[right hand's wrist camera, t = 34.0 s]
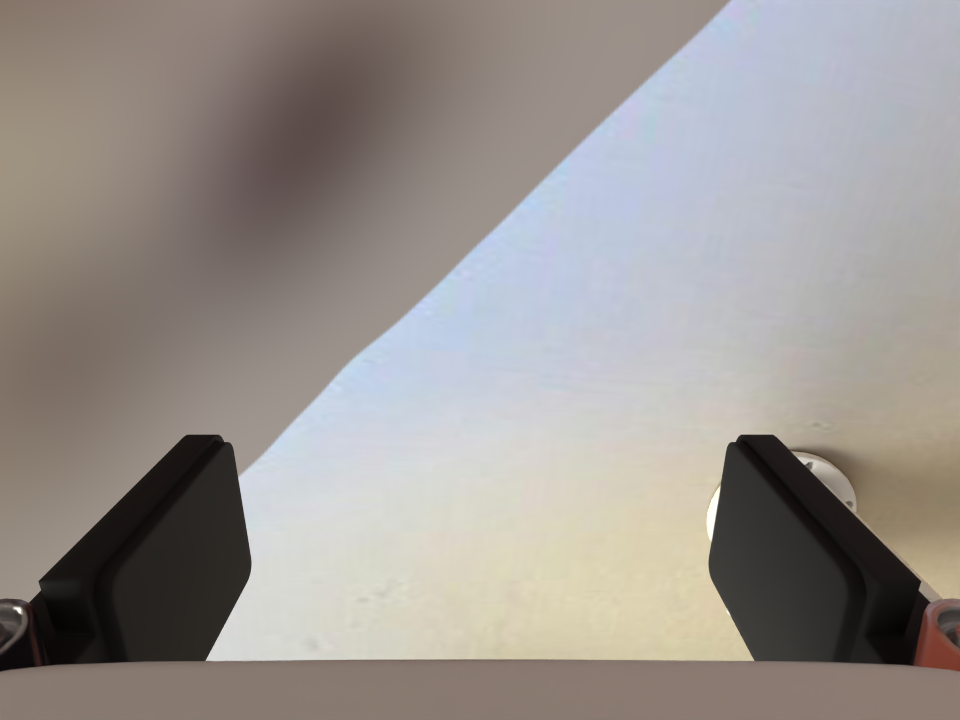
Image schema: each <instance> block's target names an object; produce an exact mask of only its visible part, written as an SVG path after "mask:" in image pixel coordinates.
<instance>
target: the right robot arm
mask: <svg viewBox="0 0 960 720" xmlns="http://www.w3.org/2000/svg"><path fill="white" fill-rule="evenodd" d="M856 511H857V509H856V497H855V493H854V490H853V487H852V486H851V484H850V482H849V480H848V479H847V478H846V477H845V476H844V474H843V473H842V472H841V471H840V470H839V469H837V468H836V467H835V466H834V465H833V464H831V463H830V462H829V461H827V460H825V459H823V458H821V457H819V456H816V455H812V454H809V453H805V452H794V451H790V450H789V449H788V448H787V447H786V446H785V445H784V444H783V443H782V442H781V441H780V440H779V439H778V438H777V437H775V436H774V435H740V436H739V437H738V439H737V440H736V442H731V443H729V445H728V447H727V450H726V456H725V462H724V468H723V475H722V481H721V485H720V487H719V488H718V489H717V491H716V493H715V494H714V496H713V498H712V500H711V503H710V506H709V509H708V512H707V522H706V523H707V531H708V536H709V538H710V541H711V549H710V555H709V572H710V576H711V579H712V581H713V583H714V585H715V587H716V589H717V591H718V593H719V595H720V596H721V598H722V600H723V602H724V604H725V606H726V608H727V612H728V614H729V615H730V616H731V617H732V619H733V621H734V623H735V625H736V627H737V629H738V630H739V632H740V634H741V636H742V638H743V640H744V642H745V644H746V645H747V647H748V649H749V651H750V653H751V655H752V657H753V659H754V661H675V660H286V661H206V659H207V657H208V655H209V653H210V651H211V649H212V647H213V645H214V644H215V642H216V640H217V638H218V636H219V634H220V632H221V630H222V629H223V627H224V625H225V623H226V621H227V619H228V617H229V615H230V613H231V612H232V610H233V608H234V606H235V604H236V602H237V600H238V598H239V596H240V595H241V593H242V591H243V589H244V587H245V585H246V583H247V581H248V579H249V576H250V572H251V555H250V549H249V542H248V536H247V530H246V524H245V518H244V512H243V505H242V499H241V493H240V487H239V481H238V475H237V469H236V462H235V456H234V450H233V447H232V445H231V443H229V442H224V440H223V439H222V437H221V436H220V435H186V436H185V437H183V438H182V439H181V440H180V441H179V442H178V443H177V444H176V445H175V446H174V447H173V448H172V449H171V450H170V451H169V452H168V453H167V454H166V455H165V456H164V457H163V458H162V459H161V460H160V461H159V462H158V463H157V464H156V465H155V466H154V467H153V468H152V469H151V470H150V471H149V472H148V473H147V474H146V475H145V476H144V477H143V478H142V479H141V480H140V481H139V482H138V483H137V484H136V485H135V486H134V487H133V488H132V489H131V490H130V491H129V492H128V493H127V494H126V495H125V496H124V497H123V498H122V499H121V500H120V501H119V502H118V503H117V504H116V505H115V506H114V507H113V508H112V509H111V510H110V511H109V512H108V513H107V514H106V515H105V516H104V517H103V518H102V519H101V520H100V521H99V522H98V523H97V524H96V525H95V526H94V527H93V528H92V529H91V530H90V531H89V532H88V533H87V534H86V535H85V536H84V537H83V538H82V539H81V540H80V541H79V542H78V543H77V544H76V545H75V546H74V547H73V548H72V549H71V550H70V551H69V552H68V553H67V554H66V555H65V556H64V557H62V558H61V560H59V561H58V562H57V563H56V564H55V565H54V566H53V567H52V568H51V569H50V570H49V571H48V572H47V573H46V575H44V576H43V577H42V578H41V579H40V580H39V585H40V588H41V591H40V592H39V593H38V594H37V595H36V596H35V597H34V598H33V599H32V600H31V601H30V602H29V603H28V602H25V601H23V600H20V599H0V720H960V599H943V598H942V597H941V596H940V595H939V594H938V593H937V592H936V591H935V590H934V589H933V588H932V587H931V586H930V585H928V584H927V583H926V582H925V581H924V580H923V579H922V578H921V577H920V576H919V575H918V574H917V573H916V572H915V571H914V570H913V569H912V568H911V567H910V566H909V565H908V564H907V563H906V562H905V561H904V560H903V559H902V558H901V557H900V556H899V555H898V554H897V553H896V552H895V551H894V550H893V549H892V548H891V547H890V546H889V545H888V544H887V543H886V542H885V541H884V540H883V539H882V538H881V537H880V536H879V535H878V534H877V533H876V532H875V531H874V530H873V529H872V528H871V527H870V526H869V525H868V524H867V523H866V522H865V521H864V520H863V519H862V518H860V517H859V516H858V515H857V514H856Z"/></svg>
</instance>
